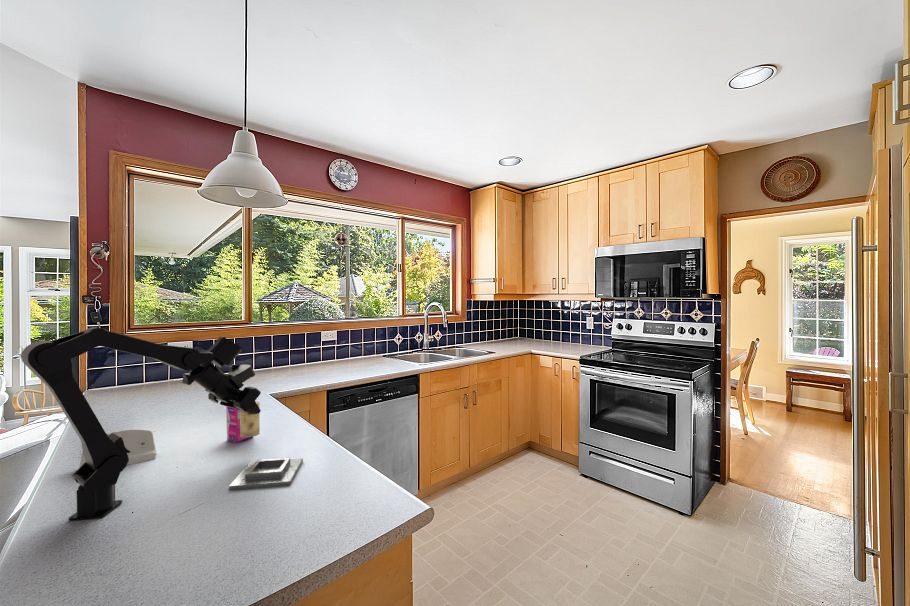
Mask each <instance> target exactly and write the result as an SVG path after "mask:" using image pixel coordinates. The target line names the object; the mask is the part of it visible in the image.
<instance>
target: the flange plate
mask: <svg viewBox="0 0 910 606" xmlns="http://www.w3.org/2000/svg"><path fill="white" fill-rule="evenodd" d="M303 463H304V458H293V459H291V457H283V458H282V457H281V458H269V459H268V458H267V459H257V460H256V461H249V463H248V464H247V466H246V467H245V468H243V470H242V471H240V473H239V474H238V476H236V478H235V479H234V480H233V481H232V482H231V483H230V484H229V486H228V491H237V490H248V489H251V490H252V489H260V488H261V489H262V488H273V487H286V486H291V484H292V483H293V481H294V478H295V477H296V475H297V474H298V471H299V470H300V468H301V466H302V465H303Z"/></svg>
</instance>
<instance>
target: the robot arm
mask: <svg viewBox="0 0 910 606" xmlns="http://www.w3.org/2000/svg"><path fill="white" fill-rule="evenodd" d="M97 347H102V348H106V349H111V350H116V351H119V352H124V353H129V354H133V355H137V356H141V357H146V358H150V359H152V360H156V361H157V362H159V363H161V364H164V365H166V366H169V367H171V368H173V369H177V370H181V371H187V373H182V382H181V383H182V384H183V385H187V386H190V385H192V383H194V382H195V383H196V384H198V385H200V386H201V387H202V388H203V389H204V391H205V392H206V393H208V397H207V399H208V400H209V401H211V402H212V403H215V404H218V403H219V405H221V406H224V407H226V406H228V407H233V408H236V409H238V410H241V411H247V412H252V413H256V414H260V413H261V408H260V406H259V407H258V405H257V404H256V402H257V401H256V400H257V399H258V398H259V396H260V395H261V393H262V392H261V390H259V389H258V388H257V387H254V386H245V384H244V383H245V382H246V381H247V380H249V379H251V378H253V377H255V376H256V373H255V371H254V370H253V367H252V365H250V364H240V365H238V364H235V363H233V364H231V363H232V362H233V361H234V360H235V359H236V358H237V357H238V356H239V355H240V353H242V351H243V348H242V347H241V346H240V345H239V344H238V343H236V342H234V341H232V340H231V339H228V338H227V337H225V336H219V337H217V339H216V341H215V342H214V344H212V345H211V346H210V348H208V349H207V350H199V349H197V348H194V347H189V346H188V347H187V346H179V345H170V344H161V343H156V342H152V341H149V340H145V339H143V338H138V337H134V336H130V335H126V334H122V333H118V332H115V331H110V330H108V329H106V328H103V327H96V326H94V327H88V328H86V329H85V330H82V331H80V332H79V331H78V332H77V333H73V334H70V335H66V336H62V337H60V338H57V339H53V340H51V341H48V340H39V341H35V342H32V343H30V344H28V345H26V346H25V348H23V350H22V352H21V353H20V359H21V362H22V363H23V364H24V365H25V366H26V367H27V368H28V370H30V371H31V372H32V373H33V374H34V375H35V376H36V377H37V378H38V379H39V380H40V381H41V382H42V383H44V385H45V386H47V387H48V389H49V390H50V392H51V393H52V394H51V395H52V396H53V397H54V398H55V401H56V402H57V403H58V405H59V407H60V408H61V410H62V412H63V413H64V416H65V417H66V419H67V420H68V422H69V423H70V425H71V427H72V428H73V430H74V431H75V433H76V435H77V436H78V437H79V439H80V442H81V448H82V451H83V454H84V458H85V461H86V462H85V463H84V464H83V465H82V466H81V467H80V468H79V467H78V469H77V470H76V471H74V473H73V474H72V478H73V480H74V481H75V483H77V484H79V486H78V487H77V490H76V512H75V513H74V514H72V515H70V516H69V517H68V521H75V520H76V521H78V520H86V519H87V520H89V519H99V518H103V517H105V516H106V515H107V514H109V513H111V511H113V510H115V509H116V507H119V506H120V505H121V504H122V503H123V500H122V499H118V500H117V499H116V484H117V483H118V480H119V477H120V475H121V472H123V470H125V468H126V467H127V463H128V462H129V457H128V455H127V453H130V451H129V450H127V449H126V447H125V445H124V442H123V439H122V437H120V436H118V435H116V434H114V433H111V432H110V433H111V434H110V435H107V433H106V431H105V429H104V428H103V426H102V424H101V423H100V421H99V418H98V417H97V416H96V414H95V412H94V411H93V409H92V407H91V406H90V404H89V402H88V400H87V398H86V396H85V395H84V393H83V391H82V390H81V388H80V386H79V385H78V383H77V382H76V380H75V379H76V378H75V375H74V367H73V364H72V359H74V358H76V357H79V356H81V355H83V354H86V353H87V352H89V351H91V350H93V349H96V348H97ZM224 366H225V367H228V373H225V372H223V371H222V370H220V368H223V367H224ZM188 371H189V372H188ZM244 386H245V387H244ZM242 388H243V389H242Z"/></svg>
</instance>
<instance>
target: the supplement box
mask: <svg viewBox="0 0 910 606" xmlns="http://www.w3.org/2000/svg"><path fill="white" fill-rule="evenodd" d="M225 408H226V409H225V410H226V412H225V413H226V440H227V441H230V442H234V443H237V444H238V443H241V442H245V441H247V440H250V439H253V438H254V436H253V437H247V438H244V437H241V436H240V410H238V409H236V408H233V407H228V406H225Z"/></svg>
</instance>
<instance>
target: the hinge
mask: <svg viewBox="0 0 910 606" xmlns="http://www.w3.org/2000/svg"><path fill="white" fill-rule="evenodd" d="M111 433H114V434H116V435H118V436H120V437H122V439H123V442H124V445H125V447H126V449H127V450H129V451H130V453H127V455H128V457H129V462H128V463H127V465H133V464H138V463H143V462H148V461H153V460H156V455H157V454H158V453H157V449H156V448H157V447H156V443H155V437H154V433H153V431H152V430H149V429H140V428H139V429H138V428H137V429H134V428H132V429H131V428H130V429H123V430H117V431H111V432H108V433H106V434H107V435H110V434H111ZM85 462H86V461H85V458H84V454H83V450H82V453H81V457H80V462H79V467H78V469H79V468H80V467H81V466H82V465H83V464H84V463H85ZM127 465H126V466H127Z"/></svg>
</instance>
